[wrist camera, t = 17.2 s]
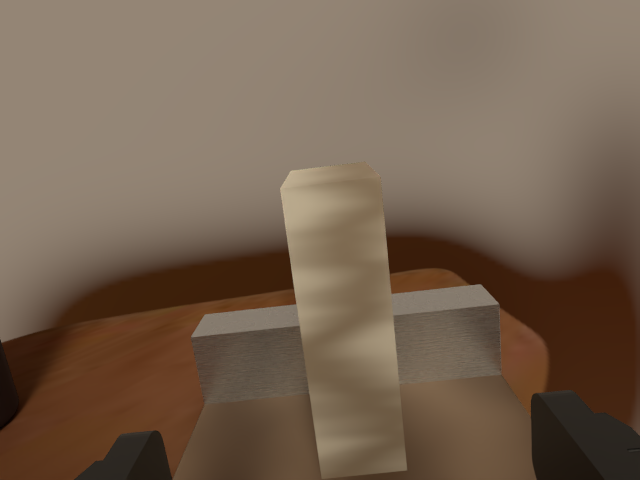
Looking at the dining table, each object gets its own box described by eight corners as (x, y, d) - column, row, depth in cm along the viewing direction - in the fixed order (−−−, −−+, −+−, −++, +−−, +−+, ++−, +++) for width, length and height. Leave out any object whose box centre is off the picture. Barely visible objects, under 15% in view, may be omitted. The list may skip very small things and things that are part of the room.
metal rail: (204, 404, 26) (190, 337, 25) (216, 375, 29) (204, 314, 28) (501, 374, 25) (499, 304, 24) (483, 348, 28) (480, 284, 27)
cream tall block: (321, 479, 19) (279, 188, 17) (321, 396, 25) (291, 170, 22) (407, 470, 19) (380, 176, 16) (387, 389, 25) (365, 161, 22)
